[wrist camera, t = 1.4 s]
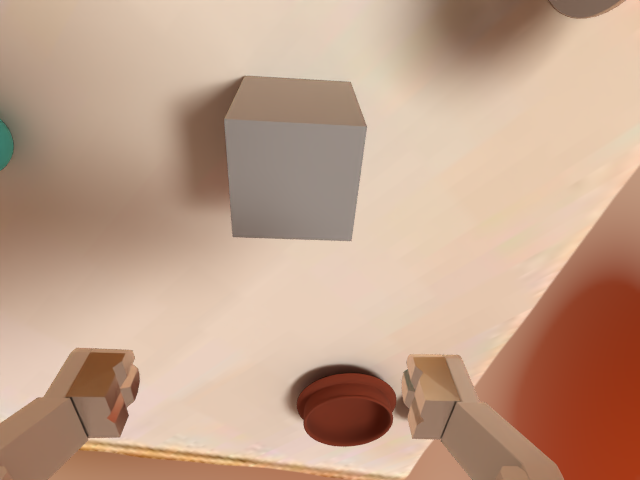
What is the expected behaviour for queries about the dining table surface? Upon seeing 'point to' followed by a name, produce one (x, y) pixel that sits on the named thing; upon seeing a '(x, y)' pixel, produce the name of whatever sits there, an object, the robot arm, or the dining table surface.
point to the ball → (5, 145)
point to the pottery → (347, 409)
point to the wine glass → (584, 7)
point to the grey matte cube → (294, 158)
